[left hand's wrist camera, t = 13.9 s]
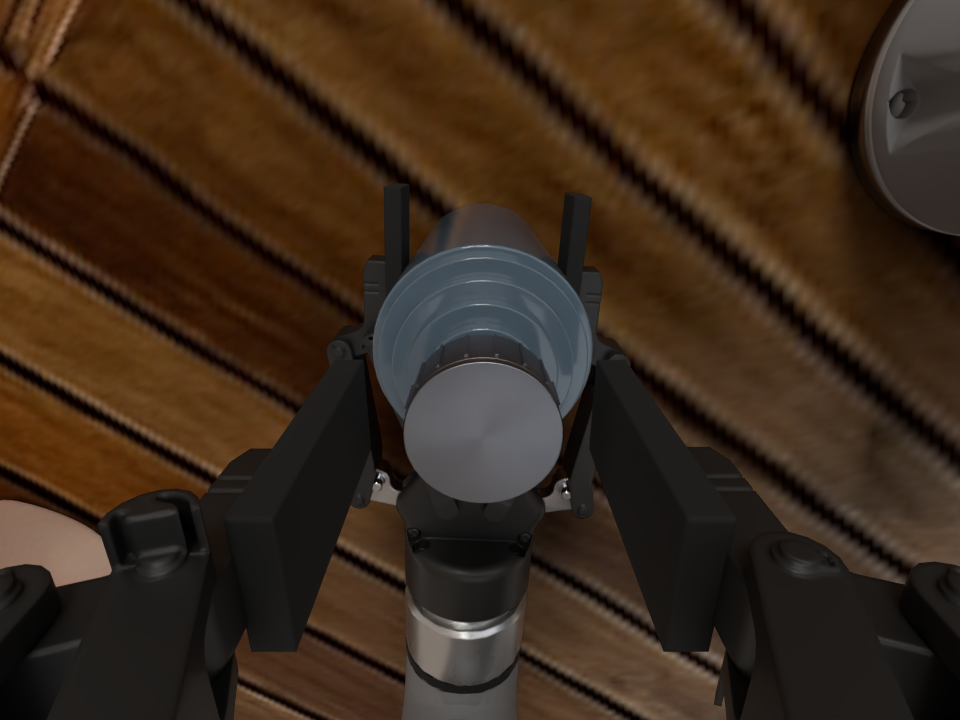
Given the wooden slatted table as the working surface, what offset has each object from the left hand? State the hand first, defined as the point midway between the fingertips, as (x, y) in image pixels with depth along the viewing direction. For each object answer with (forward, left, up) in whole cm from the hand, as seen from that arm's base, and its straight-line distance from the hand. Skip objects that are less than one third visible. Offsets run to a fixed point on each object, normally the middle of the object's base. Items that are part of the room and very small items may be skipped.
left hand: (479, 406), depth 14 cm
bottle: (0, 0, -19) cm, 19 cm away
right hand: (+3, -4, -12) cm, 13 cm away
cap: (0, 0, +1) cm, 1 cm away
